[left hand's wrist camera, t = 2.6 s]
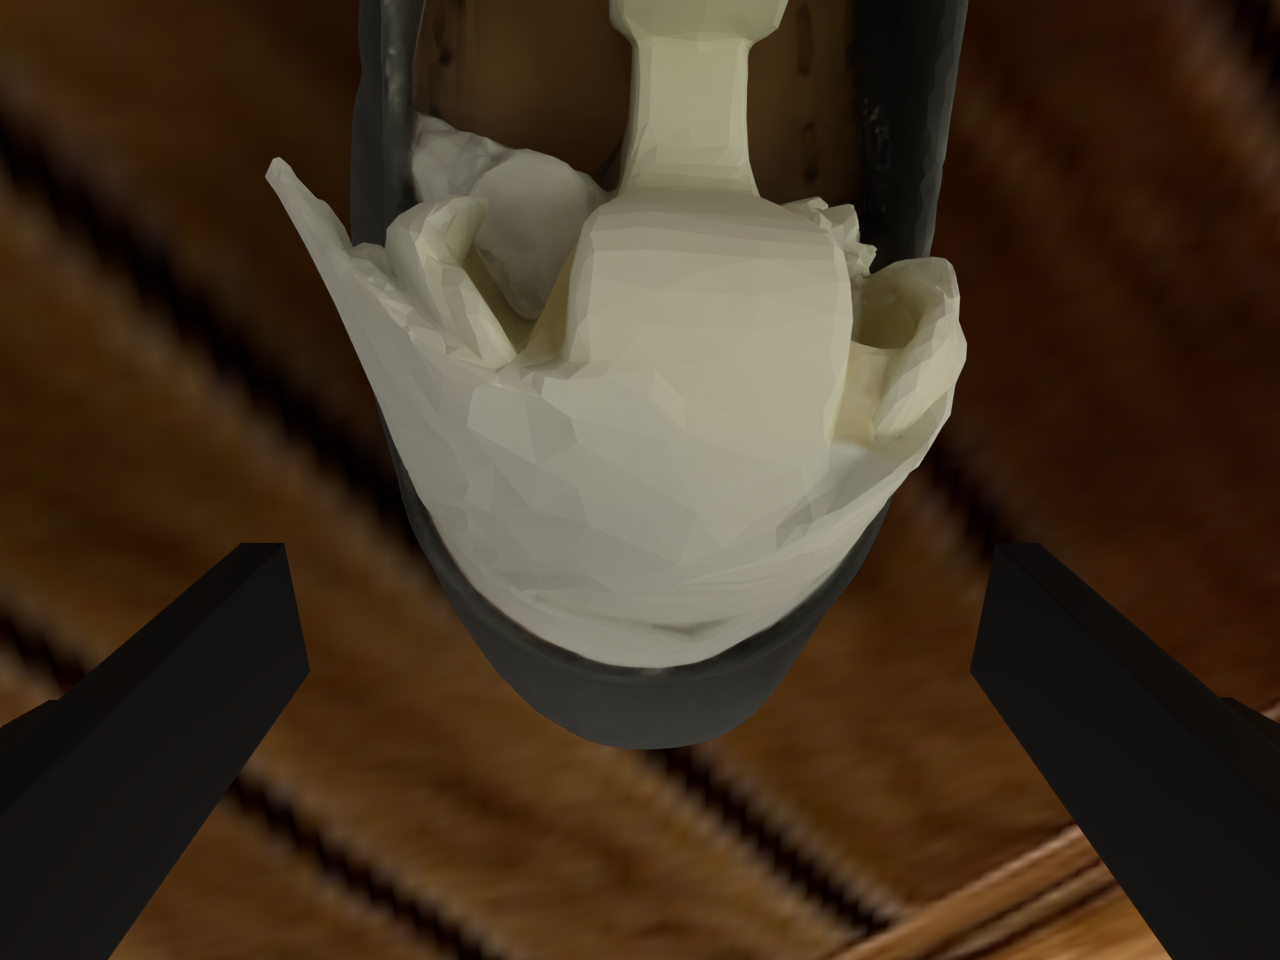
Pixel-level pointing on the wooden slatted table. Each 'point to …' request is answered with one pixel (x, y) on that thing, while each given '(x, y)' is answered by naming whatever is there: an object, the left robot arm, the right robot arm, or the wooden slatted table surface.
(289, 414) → the wooden slatted table surface
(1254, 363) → the wooden slatted table surface
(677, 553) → the ballet flat
